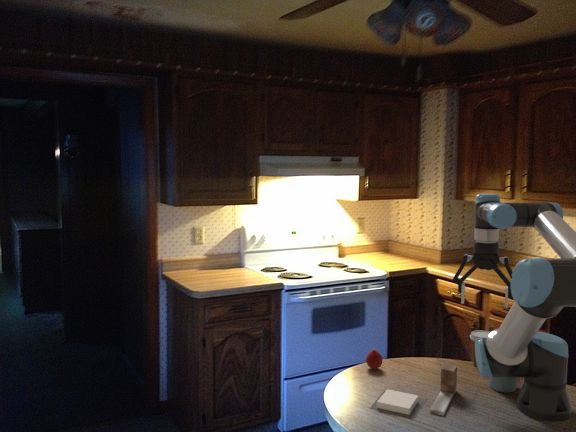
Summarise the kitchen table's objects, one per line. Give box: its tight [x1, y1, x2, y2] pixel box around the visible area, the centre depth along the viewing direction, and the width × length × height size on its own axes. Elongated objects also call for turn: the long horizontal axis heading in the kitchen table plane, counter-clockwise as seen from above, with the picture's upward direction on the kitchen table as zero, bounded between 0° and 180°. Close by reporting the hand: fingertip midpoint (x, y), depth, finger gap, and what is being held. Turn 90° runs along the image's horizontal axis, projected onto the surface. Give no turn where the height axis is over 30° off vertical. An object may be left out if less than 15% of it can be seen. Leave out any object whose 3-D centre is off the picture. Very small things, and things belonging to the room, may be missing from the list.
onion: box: [365, 348, 383, 371], centre depth 199 cm, size 6×6×8 cm
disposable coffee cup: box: [469, 329, 492, 368], centre depth 203 cm, size 10×10×12 cm
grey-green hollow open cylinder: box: [488, 377, 518, 393], centre depth 185 cm, size 10×10×12 cm
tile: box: [377, 388, 419, 415], centre depth 171 cm, size 10×2×10 cm
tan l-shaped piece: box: [429, 363, 458, 416], centre depth 173 cm, size 4×19×9 cm, turn 152°
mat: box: [369, 390, 428, 419], centre depth 172 cm, size 14×14×1 cm
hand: (484, 304), depth 183 cm, fingers open, 13 cm apart
